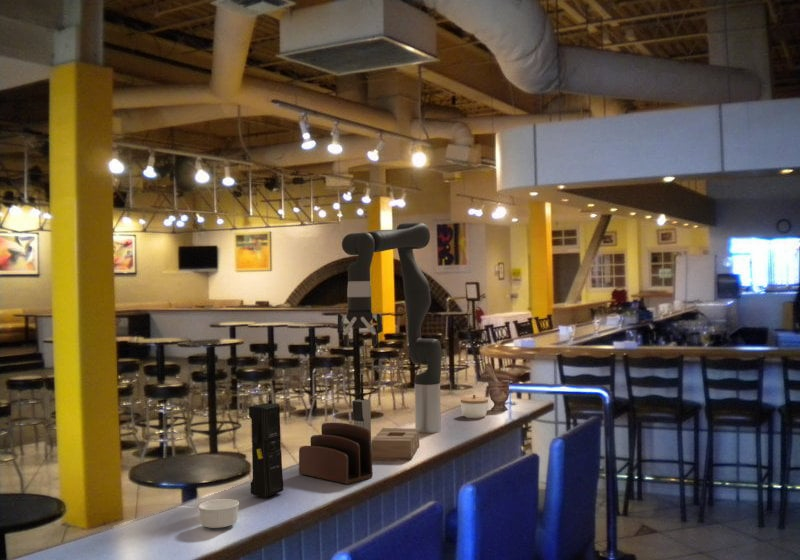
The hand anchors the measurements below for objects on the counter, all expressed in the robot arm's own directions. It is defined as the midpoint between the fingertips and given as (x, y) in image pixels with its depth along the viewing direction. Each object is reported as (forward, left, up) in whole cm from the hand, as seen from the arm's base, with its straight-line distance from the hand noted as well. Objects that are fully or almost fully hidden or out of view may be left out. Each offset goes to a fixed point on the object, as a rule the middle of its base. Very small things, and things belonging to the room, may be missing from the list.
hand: (360, 346), depth 247 cm
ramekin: (+75, -18, -34) cm, 84 cm away
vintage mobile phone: (0, 0, -34) cm, 34 cm away
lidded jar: (-65, +32, -34) cm, 80 cm away
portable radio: (+50, -15, -34) cm, 62 cm away
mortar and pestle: (-81, +40, -34) cm, 96 cm away
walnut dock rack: (0, +11, -34) cm, 35 cm away
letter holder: (+30, -2, -34) cm, 45 cm away
